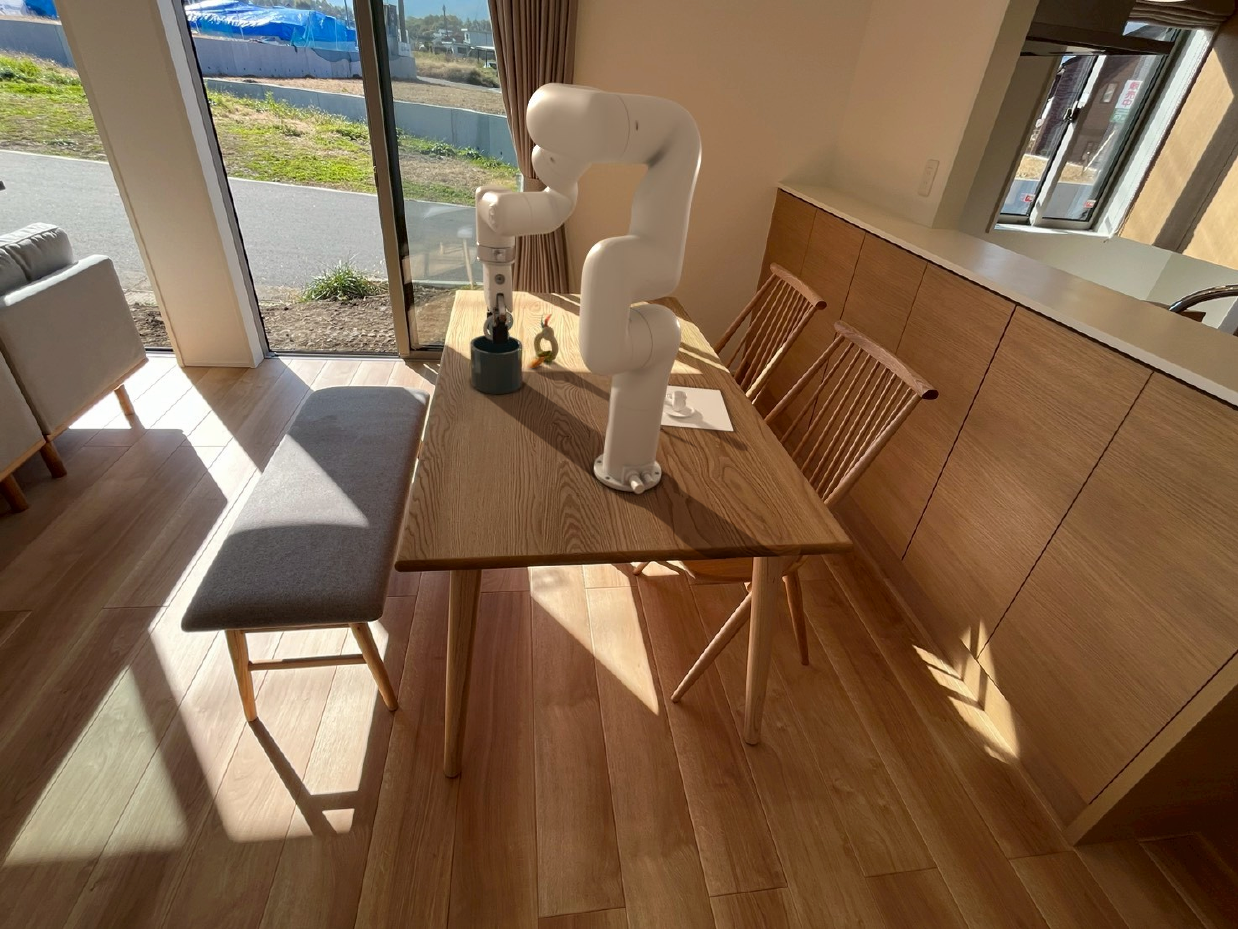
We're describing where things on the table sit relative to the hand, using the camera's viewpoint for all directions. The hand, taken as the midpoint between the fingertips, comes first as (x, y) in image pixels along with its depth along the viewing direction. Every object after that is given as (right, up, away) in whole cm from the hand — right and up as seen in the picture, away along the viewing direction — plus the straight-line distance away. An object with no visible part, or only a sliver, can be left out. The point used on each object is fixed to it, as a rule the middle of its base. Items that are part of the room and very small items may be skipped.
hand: (497, 335), depth 130 cm
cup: (-1, -9, +6) cm, 11 cm away
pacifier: (0, +1, 0) cm, 1 cm away
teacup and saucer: (+41, -15, +7) cm, 44 cm away
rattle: (+7, -3, +19) cm, 20 cm away
